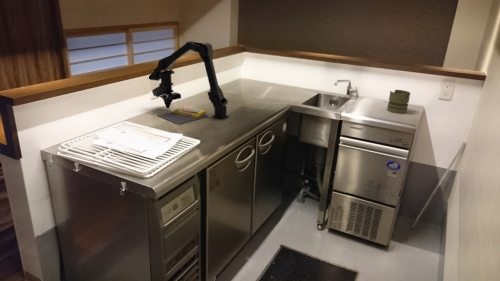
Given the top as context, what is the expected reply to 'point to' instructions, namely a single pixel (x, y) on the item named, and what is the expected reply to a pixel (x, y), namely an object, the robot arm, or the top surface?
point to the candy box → (189, 111)
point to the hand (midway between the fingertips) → (167, 108)
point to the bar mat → (179, 118)
